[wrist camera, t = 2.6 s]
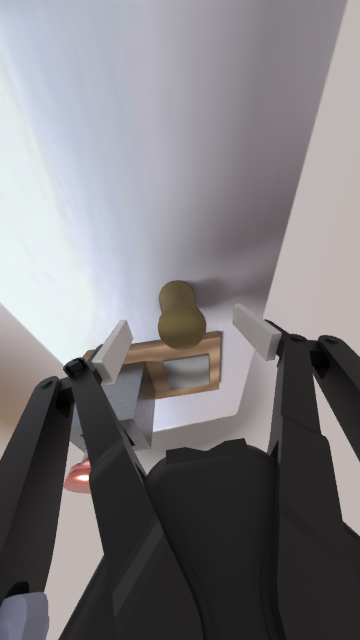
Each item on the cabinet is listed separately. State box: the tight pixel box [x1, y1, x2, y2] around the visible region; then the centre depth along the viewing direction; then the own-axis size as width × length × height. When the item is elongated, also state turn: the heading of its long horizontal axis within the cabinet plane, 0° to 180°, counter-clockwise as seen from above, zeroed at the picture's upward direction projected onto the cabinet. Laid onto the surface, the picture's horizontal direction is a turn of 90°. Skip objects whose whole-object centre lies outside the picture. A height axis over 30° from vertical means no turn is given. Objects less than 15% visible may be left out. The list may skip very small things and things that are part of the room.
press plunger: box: [63, 428, 129, 493], centre depth 20 cm, size 7×7×9 cm
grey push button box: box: [69, 361, 156, 453], centre depth 24 cm, size 10×10×10 cm
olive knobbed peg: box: [158, 280, 206, 350], centre depth 18 cm, size 6×6×11 cm
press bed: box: [82, 331, 221, 399], centre depth 29 cm, size 16×26×3 cm, turn 97°
